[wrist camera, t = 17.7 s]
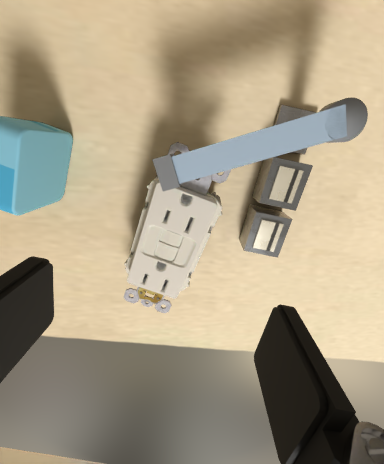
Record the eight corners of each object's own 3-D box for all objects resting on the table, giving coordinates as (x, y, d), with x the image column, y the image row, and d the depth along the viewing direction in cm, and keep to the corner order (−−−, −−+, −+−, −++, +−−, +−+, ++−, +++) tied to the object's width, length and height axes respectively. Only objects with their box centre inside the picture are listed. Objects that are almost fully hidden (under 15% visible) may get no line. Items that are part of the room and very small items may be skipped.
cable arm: (350, 97, 24) (369, 91, 21) (352, 136, 25) (369, 135, 22) (156, 156, 27) (151, 157, 24) (166, 189, 28) (163, 193, 25)
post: (279, 106, 35) (315, 87, 24) (316, 114, 35) (368, 99, 24) (267, 146, 37) (294, 145, 26) (302, 154, 37) (343, 156, 26)
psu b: (249, 204, 40) (256, 212, 35) (281, 211, 41) (293, 220, 35) (239, 239, 43) (244, 251, 38) (269, 245, 43) (278, 258, 38)
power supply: (264, 155, 37) (274, 157, 32) (298, 163, 38) (314, 165, 32) (252, 196, 40) (259, 203, 35) (284, 203, 40) (296, 211, 35)
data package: (48, 123, 37) (-19, 112, 26) (74, 133, 37) (20, 127, 26) (39, 190, 41) (-22, 207, 30) (63, 199, 41) (12, 219, 30)
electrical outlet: (236, 161, 37) (246, 171, 28) (180, 287, 49) (174, 323, 40) (170, 134, 36) (158, 135, 27) (128, 270, 48) (110, 303, 39)
